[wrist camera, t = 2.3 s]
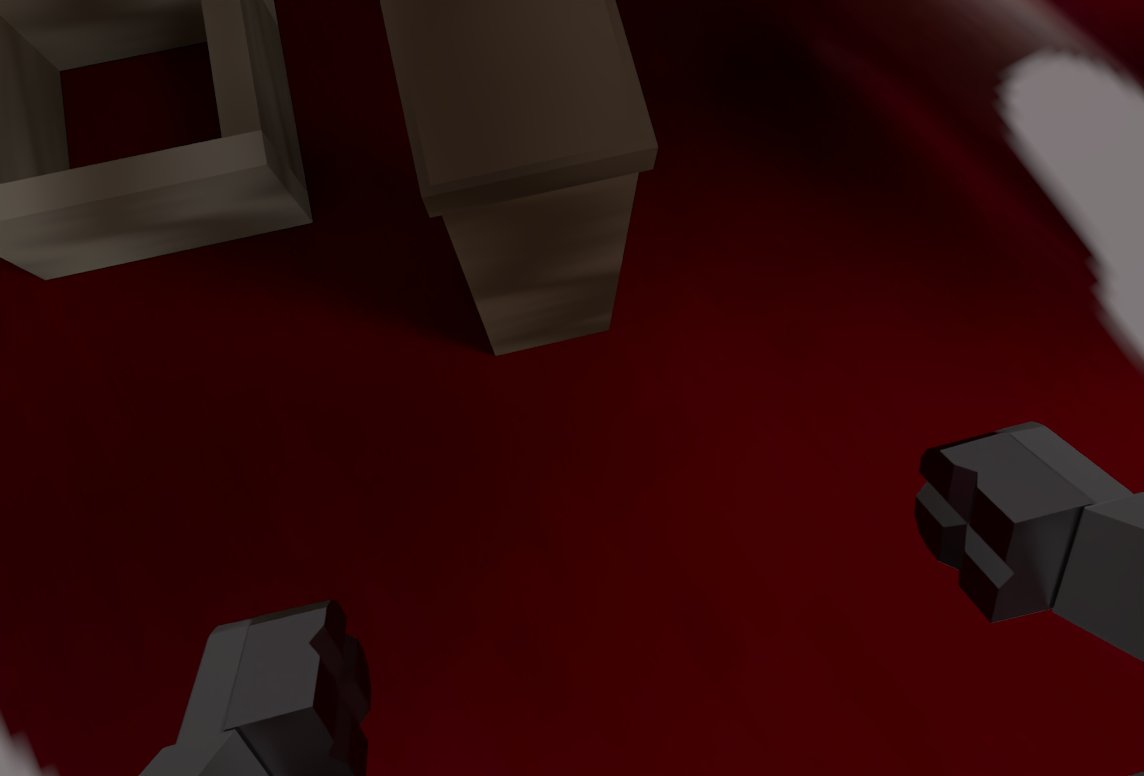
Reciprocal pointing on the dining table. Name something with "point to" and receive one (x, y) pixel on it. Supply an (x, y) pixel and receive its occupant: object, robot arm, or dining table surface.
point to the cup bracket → (155, 180)
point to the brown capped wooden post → (525, 152)
